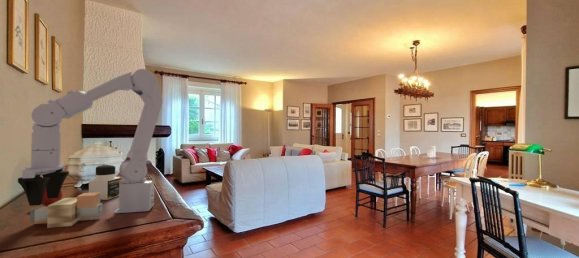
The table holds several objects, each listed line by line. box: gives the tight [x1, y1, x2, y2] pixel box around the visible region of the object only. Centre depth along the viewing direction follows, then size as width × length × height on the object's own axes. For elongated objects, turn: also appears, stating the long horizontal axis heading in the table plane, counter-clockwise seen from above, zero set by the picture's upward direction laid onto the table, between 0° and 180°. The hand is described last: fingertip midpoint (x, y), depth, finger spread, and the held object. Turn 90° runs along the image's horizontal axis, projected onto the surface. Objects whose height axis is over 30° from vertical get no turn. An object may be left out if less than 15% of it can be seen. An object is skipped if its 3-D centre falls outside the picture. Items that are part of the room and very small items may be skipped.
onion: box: [41, 187, 63, 207], centre depth 83 cm, size 6×6×8 cm
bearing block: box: [46, 196, 83, 229], centre depth 70 cm, size 5×8×6 cm, turn 17°
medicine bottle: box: [88, 164, 122, 201], centre depth 96 cm, size 7×7×12 cm
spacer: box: [76, 192, 101, 208], centre depth 71 cm, size 4×4×3 cm
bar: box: [29, 202, 103, 223], centre depth 70 cm, size 15×3×3 cm, turn 107°
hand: (44, 201), depth 68 cm, fingers open, 7 cm apart
